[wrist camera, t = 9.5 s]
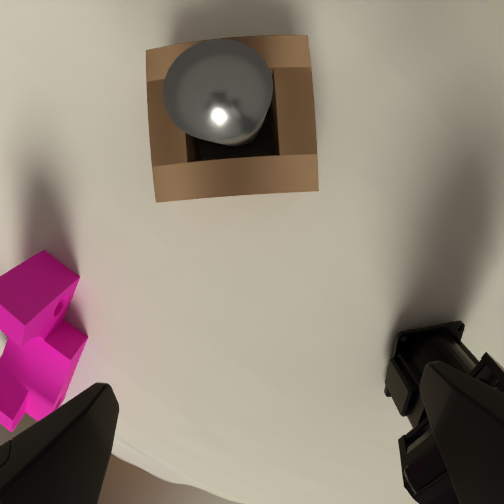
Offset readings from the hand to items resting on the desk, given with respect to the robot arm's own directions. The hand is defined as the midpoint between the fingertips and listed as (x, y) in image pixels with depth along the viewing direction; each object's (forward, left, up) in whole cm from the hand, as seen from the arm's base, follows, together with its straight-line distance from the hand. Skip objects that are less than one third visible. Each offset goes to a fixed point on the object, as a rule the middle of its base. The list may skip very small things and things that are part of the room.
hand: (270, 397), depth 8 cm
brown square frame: (+1, -8, -13) cm, 15 cm away
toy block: (+18, +7, -14) cm, 24 cm away
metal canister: (+1, -8, -13) cm, 15 cm away
